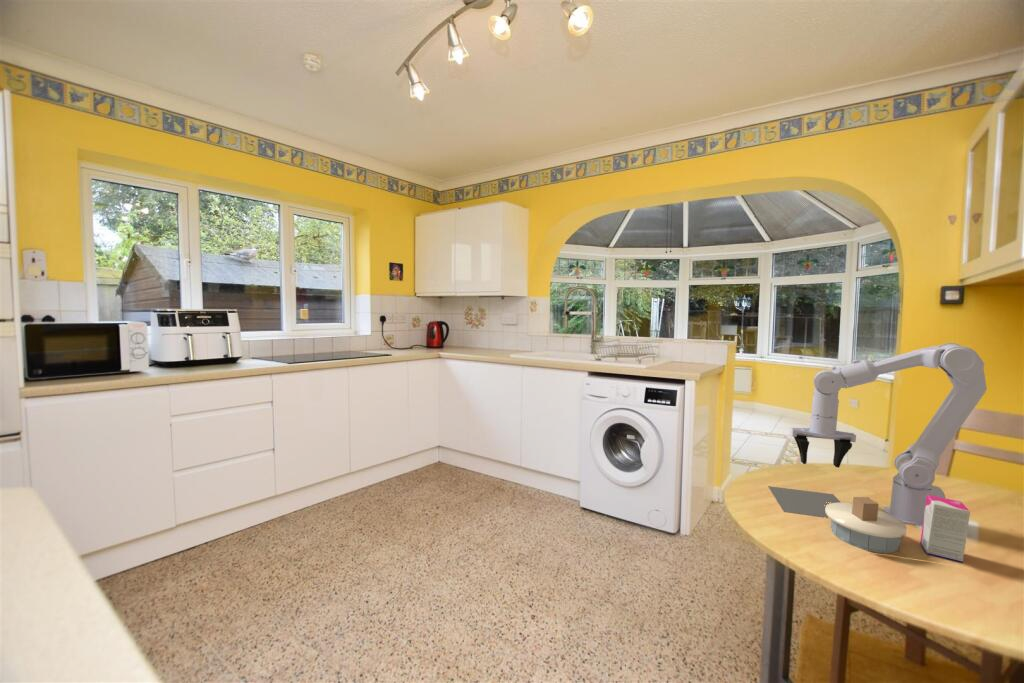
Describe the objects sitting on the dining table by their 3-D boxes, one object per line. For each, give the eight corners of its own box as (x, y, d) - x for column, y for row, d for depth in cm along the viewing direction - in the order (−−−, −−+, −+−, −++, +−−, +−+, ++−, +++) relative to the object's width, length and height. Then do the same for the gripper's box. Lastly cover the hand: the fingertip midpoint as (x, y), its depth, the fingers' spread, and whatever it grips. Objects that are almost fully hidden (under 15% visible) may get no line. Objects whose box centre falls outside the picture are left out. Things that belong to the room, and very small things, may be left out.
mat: (833, 495, 123) (833, 494, 123) (858, 523, 107) (858, 521, 107) (767, 487, 127) (768, 486, 127) (783, 512, 112) (783, 511, 112)
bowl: (882, 530, 104) (884, 513, 104) (911, 558, 93) (913, 540, 93) (823, 521, 108) (824, 505, 108) (843, 548, 97) (845, 530, 96)
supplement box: (964, 564, 91) (971, 511, 90) (925, 555, 94) (931, 503, 93) (955, 551, 96) (961, 500, 95) (919, 542, 99) (924, 493, 98)
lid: (872, 506, 107) (874, 487, 107) (924, 539, 93) (927, 517, 93) (811, 504, 108) (812, 485, 108) (853, 536, 94) (856, 514, 93)
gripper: (849, 413, 120) (845, 462, 122) (788, 409, 124) (784, 456, 126) (861, 420, 113) (856, 472, 115) (796, 415, 118) (792, 465, 119)
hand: (819, 464), depth 120 cm, fingers open, 7 cm apart
